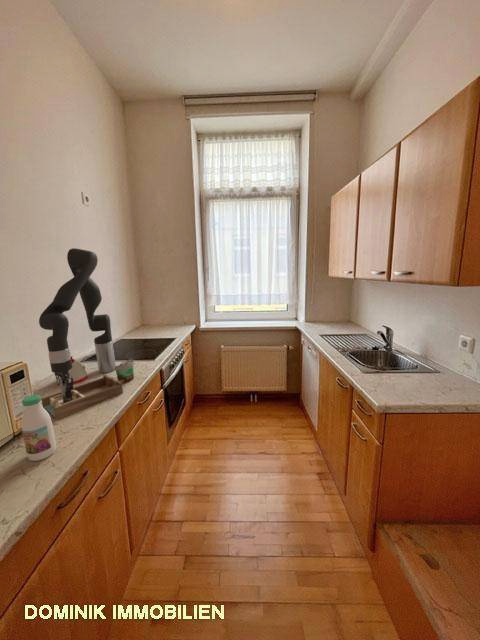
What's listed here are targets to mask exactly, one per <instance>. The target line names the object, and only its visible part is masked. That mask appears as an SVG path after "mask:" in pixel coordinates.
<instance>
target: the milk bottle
mask: <svg viewBox="0 0 480 640" xmlns="http://www.w3.org/2000/svg"><path fill="white" fill-rule="evenodd" d="M41 399H42V396H41V395H40V394H33V395H29V396H26V397H24V398H23V399H22V400H21V402H22V406H23V408H24V411H23V416H22V419H21V431H22V432H21V433H22V438H23V442H24V446H25V452H26V455H27V459H28V460H29V461H31V462H38V461H42V460H45V459H47V458H49V457H50V456H52V455H54V453H55V452H56V451H57V442H56V436H55V431H54V426H53V422H52V418H51V415H50V414H49V413H48V412H47V411H46V410H45V409H44V408H43V405H42V400H41Z"/></svg>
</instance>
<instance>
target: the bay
mask: <svg viewBox="0 0 480 640" xmlns="http://www.w3.org/2000/svg"><path fill="white" fill-rule="evenodd" d="M71 390H76V391H78V392H79V393H81V394H82V395H84V396H85V397H84V398H81V399H79V400H76V401H73V402H71V403H68V404H65V405H63V406H60V407H58V408H54V407H53V406H52V405H51V404H50V399H49V398H51V397H54V396H57V395H60V394H62V393H61V391H59V392H57V393H53V394H50V395H48V396H44V397H41V401H42V402H41V405H42V406H43V408H44V409H45V410H46V411H47V412H48V413H49V415H50V417H52V418H53V419H55V421H58V420H60V419H63V418H64V417H68V416H70V415H72V414H74V413H77V412H80V411H83V410H84V409H87V408H89V407H92V406H94V405H96V404H99V403H103V402H104V401H106V400H109V399H111V398H114V397H117V396H119V395H122V394H123V393H124V391H123V383H122V382H120V381H118V379H115V378H114V377H112V376H109V375H107V374H104V375H103V376H102V377H101V378H97V379H94V380H91V381H89V382H86V383H83V384H79V385H77V386H73V389H71Z"/></svg>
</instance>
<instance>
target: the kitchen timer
mask: <svg viewBox="0 0 480 640" xmlns="http://www.w3.org/2000/svg"><path fill="white" fill-rule="evenodd" d="M71 361H72V366H73V367H72V369H70V370H69V371H68V372H69V373H70V376H71V377H70V378H73V385H76V384H79V383H82V382H84V381H85V380H87V379H88V373H87V371H86V367H85V365H83V364H82V363H81V362H79V361H78V360H76V359H75V358H73V355H72V356H71Z"/></svg>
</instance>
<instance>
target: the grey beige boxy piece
mask: <svg viewBox="0 0 480 640" xmlns="http://www.w3.org/2000/svg"><path fill="white" fill-rule="evenodd" d="M64 384H65V383H64ZM68 387H69V386H68ZM59 388H60V392H61V393H62V394H60V395H57V396H54V397H51V398H49V399H50V404H51V405H52V406H53V407H54V408H58V407H60V406H63V405H65V404H68V403H71V402H73V401H76V400H79V399H81V398H84V397H85V396H84V395H82V394H81V393H79V392H78V391H76V390H71V393H72V397H71V398H69V399H66V396H65V391H64V387H63V386H62V385H60V386H59Z"/></svg>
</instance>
